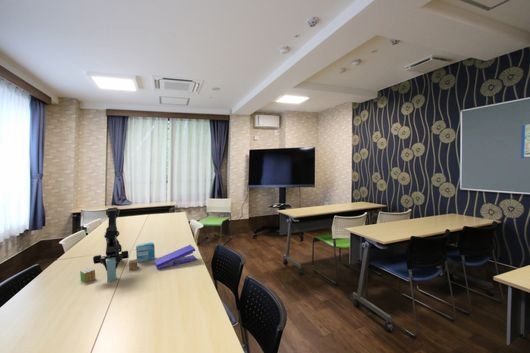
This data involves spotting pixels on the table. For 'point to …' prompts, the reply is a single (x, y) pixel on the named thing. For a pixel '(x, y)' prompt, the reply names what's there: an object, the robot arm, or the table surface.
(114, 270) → the teal block
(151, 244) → the data package
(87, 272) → the puzzle toy
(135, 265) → the walnut cube
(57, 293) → the table surface
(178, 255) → the stapler
